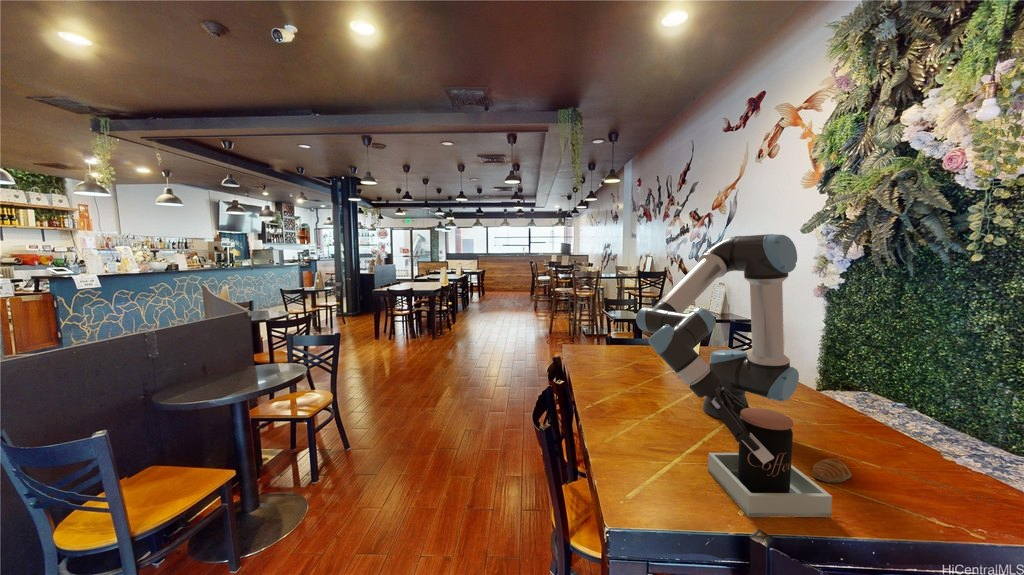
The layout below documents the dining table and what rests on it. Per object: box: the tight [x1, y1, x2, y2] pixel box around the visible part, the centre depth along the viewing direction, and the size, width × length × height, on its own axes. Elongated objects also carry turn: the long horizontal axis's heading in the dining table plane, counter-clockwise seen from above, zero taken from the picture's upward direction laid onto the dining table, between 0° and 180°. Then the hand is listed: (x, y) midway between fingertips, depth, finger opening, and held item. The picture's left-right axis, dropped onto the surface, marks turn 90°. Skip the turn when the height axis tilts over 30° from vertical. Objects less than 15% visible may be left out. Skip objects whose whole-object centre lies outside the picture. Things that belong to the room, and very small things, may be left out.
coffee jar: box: [738, 407, 794, 493], centre depth 90 cm, size 11×11×18 cm
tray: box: [707, 452, 833, 519], centre depth 91 cm, size 18×18×5 cm
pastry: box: [811, 457, 852, 484], centre depth 97 cm, size 9×7×4 cm
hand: (766, 447), depth 90 cm, fingers open, 13 cm apart
